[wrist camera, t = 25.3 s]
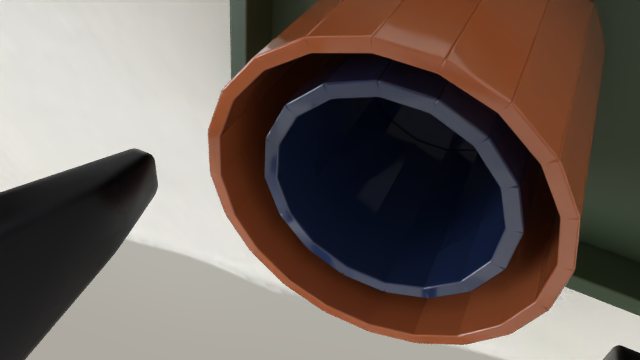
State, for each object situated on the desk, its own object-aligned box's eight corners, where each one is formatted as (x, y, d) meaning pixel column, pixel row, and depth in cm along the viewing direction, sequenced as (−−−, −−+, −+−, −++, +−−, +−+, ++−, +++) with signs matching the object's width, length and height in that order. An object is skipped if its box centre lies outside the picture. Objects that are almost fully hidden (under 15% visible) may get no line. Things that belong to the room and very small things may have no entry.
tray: (261, 125, 21) (231, 157, 20) (272, -254, 14) (224, -250, 12) (683, 280, 18) (686, 335, 16) (1039, -123, 10) (1110, -92, 8)
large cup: (326, 122, 19) (214, 262, 14) (355, -111, 14) (198, -17, 9) (541, 198, 17) (497, 390, 12) (663, -39, 12) (669, 126, 7)
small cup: (353, 117, 18) (261, 241, 14) (380, -54, 14) (266, 44, 10) (521, 174, 16) (475, 331, 12) (598, 1, 13) (571, 140, 9)
